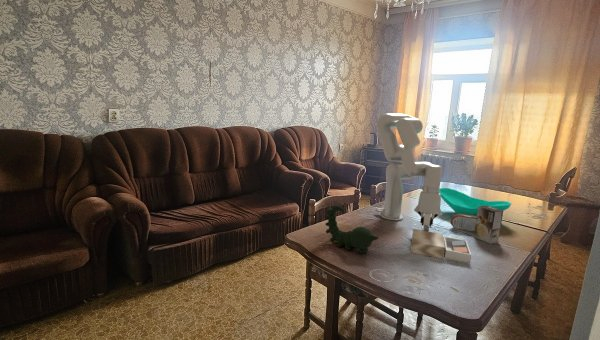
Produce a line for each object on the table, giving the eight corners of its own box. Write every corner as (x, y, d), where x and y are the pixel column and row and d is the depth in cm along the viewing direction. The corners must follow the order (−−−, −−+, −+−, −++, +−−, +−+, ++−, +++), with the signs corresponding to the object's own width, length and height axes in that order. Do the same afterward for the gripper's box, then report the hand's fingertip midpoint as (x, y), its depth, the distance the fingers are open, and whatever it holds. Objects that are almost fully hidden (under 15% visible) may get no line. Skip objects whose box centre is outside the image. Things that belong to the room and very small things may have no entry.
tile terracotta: (467, 251, 129) (468, 257, 129) (466, 247, 134) (466, 252, 134) (454, 251, 131) (455, 257, 131) (453, 247, 136) (453, 252, 136)
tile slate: (465, 244, 136) (466, 250, 136) (463, 240, 140) (464, 245, 140) (452, 245, 138) (453, 250, 138) (451, 241, 142) (452, 246, 142)
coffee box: (498, 242, 151) (504, 210, 148) (489, 244, 149) (495, 211, 146) (481, 235, 160) (486, 205, 156) (472, 236, 157) (477, 206, 154)
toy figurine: (321, 246, 140) (372, 261, 124) (321, 205, 138) (373, 215, 122) (333, 240, 148) (383, 253, 132) (333, 201, 145) (383, 210, 129)
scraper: (422, 233, 150) (424, 216, 149) (422, 224, 165) (424, 208, 163) (429, 234, 149) (431, 217, 148) (428, 225, 164) (430, 209, 162)
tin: (480, 231, 164) (483, 216, 163) (481, 233, 161) (484, 218, 160) (449, 227, 169) (451, 212, 167) (449, 229, 166) (452, 213, 164)
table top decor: (426, 211, 193) (428, 191, 191) (446, 204, 211) (449, 185, 208) (497, 232, 164) (502, 208, 161) (514, 222, 181) (518, 200, 179)
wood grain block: (410, 252, 136) (412, 241, 135) (411, 238, 150) (413, 229, 149) (443, 258, 131) (445, 247, 130) (441, 244, 146) (442, 234, 145)
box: (444, 258, 131) (445, 250, 130) (442, 244, 146) (443, 236, 145) (470, 263, 128) (471, 254, 127) (465, 248, 142) (466, 240, 142)
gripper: (413, 189, 152) (408, 224, 156) (449, 193, 147) (444, 230, 150) (413, 185, 159) (409, 220, 163) (448, 190, 154) (443, 225, 157)
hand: (426, 224), depth 156 cm, fingers closed on scraper, 3 cm apart
